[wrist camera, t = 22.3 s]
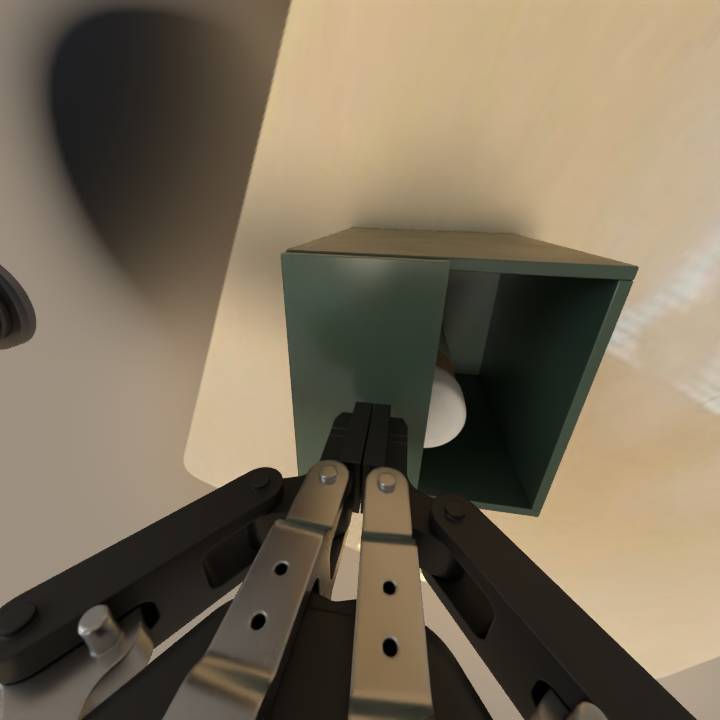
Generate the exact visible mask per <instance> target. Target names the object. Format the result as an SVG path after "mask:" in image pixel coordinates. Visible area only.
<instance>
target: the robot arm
mask: <svg viewBox="0 0 720 720" xmlns="http://www.w3.org/2000/svg"><path fill="white" fill-rule="evenodd" d="M10 327H11V321H10V316H9V313H8V310H7V308H6V305H5V304H4V302H3V300H2V299H1V297H0V340H1V339H3V338H5V337H6V336H7V335H8V334H9V331H10ZM390 415H391V405H387V404H377V403H374V407H373V403H367V402H357V401H356V403H355V406H354V410H353V413H349V412H342V413H341V414H339V415H338V416H337V417H336V418H335V420H334V422H333V425H332V429H331V431H330V433H329V436H328V439H327V442H326V444H325V447H324V450H323V453H322V455H321V458H320V461H319V462H317V463H316V464H314V465H313V466H312V467H311V468H310V469H309V471H308V473H307V474H305V475H302V476H298V477H291V478H282V475H281V473H280V472H279V471H277V470H276V469H273V468H269V467H262V468H257V469H254V470H252V471H250V472H248V473H246V474H244V475H242V476H241V477H239V478H237V479H235V480H233V481H231V482H229V483H228V484H226V485H224V486H222V487H220V488H218V489H217V490H215V491H213V492H211V493H209V494H207V495H205V496H203V497H201V498H200V499H198V500H196V501H194V502H192V503H190V504H188V505H187V506H185V507H183V508H181V509H179V510H177V511H175V512H173V513H172V514H170V515H168V516H166V517H164V518H162V519H160V520H159V521H157V522H155V523H153V524H151V525H149V526H147V527H146V528H144V529H142V530H140V531H138V532H136V533H134V534H133V535H131V536H129V537H127V538H125V539H123V540H121V541H119V542H118V543H116V544H114V545H112V546H110V547H108V548H106V549H105V550H103V551H101V552H99V553H97V554H95V555H93V556H92V557H90V558H88V559H86V560H84V561H82V562H81V563H79V564H77V565H75V566H73V567H71V568H69V569H67V570H65V571H64V572H62V573H60V574H58V575H56V576H55V577H52V578H51V579H49V580H47V581H45V582H43V583H41V584H39V585H38V586H36V587H34V588H32V589H30V590H28V591H26V592H25V593H23V594H21V595H19V596H17V597H16V598H14V599H12V600H11V601H9V602H8V603H6V604H5V605H4V606H2V607H1V608H0V720H493V719H492V717H491V716H490V714H489V712H488V711H487V709H486V707H485V706H484V704H483V702H482V701H481V699H480V697H479V696H478V694H477V693H476V691H475V689H474V688H473V686H472V684H471V683H470V681H469V680H468V678H467V677H466V675H465V673H464V671H463V670H462V668H461V666H460V665H459V663H458V661H457V660H456V658H455V657H454V655H453V654H452V652H451V651H450V650H449V648H448V647H447V646H446V645H445V643H444V642H443V641H442V640H441V639H440V638H439V637H438V636H437V635H436V634H435V633H434V632H433V631H432V630H430V629H429V628H428V627H427V626H425V623H424V613H423V602H422V593H421V581H420V571H419V568H421V570H422V573H423V576H424V577H425V579H426V581H427V582H428V583H429V585H430V586H431V588H432V589H433V590H434V592H435V593H436V595H437V596H438V598H439V599H440V600H441V602H442V603H443V605H444V606H445V607H446V609H447V610H448V612H449V613H450V614H451V616H452V617H453V619H454V620H455V622H456V623H457V624H458V626H459V627H460V629H461V630H462V632H463V633H464V634H465V636H466V637H467V639H468V640H469V641H470V643H471V644H472V646H473V647H474V649H475V650H476V651H477V653H478V654H479V656H480V657H481V659H482V660H483V661H484V663H485V664H486V665H487V667H488V668H489V670H490V671H491V673H492V674H493V676H494V677H495V678H496V680H497V681H498V683H499V684H500V685H501V687H502V688H503V690H504V691H505V693H506V694H507V695H508V697H509V698H510V700H511V701H512V702H513V704H514V705H515V707H516V708H517V710H518V711H519V712H520V714H521V715H522V717H523V718H524V719H525V720H696V718H695V717H693V716H692V715H691V714H690V713H689V712H688V711H687V710H686V709H685V708H684V707H683V706H682V705H681V704H680V703H679V702H678V701H677V700H676V699H675V698H674V697H673V696H672V695H671V694H670V693H668V692H667V691H666V690H665V689H664V688H663V687H662V686H661V685H660V684H659V683H658V682H657V681H656V680H655V679H654V678H653V677H652V676H651V675H650V674H649V673H648V672H647V671H646V670H645V669H644V668H643V667H642V666H641V665H640V664H639V663H638V662H636V661H635V660H634V659H633V658H632V657H631V656H630V655H629V654H628V653H627V652H626V651H625V650H624V649H623V648H622V647H621V646H620V645H619V644H618V643H617V642H616V641H615V640H614V639H613V638H612V637H611V636H610V635H609V634H607V633H606V632H605V631H604V630H603V629H602V628H601V627H600V626H599V625H598V624H597V623H596V622H595V621H594V620H593V619H592V618H591V617H590V616H589V615H588V614H587V613H586V612H585V611H584V610H583V609H582V608H581V607H580V606H578V605H577V604H576V603H575V602H574V601H573V600H572V599H571V598H570V597H569V596H568V595H567V594H566V593H565V592H564V591H563V590H562V589H561V588H560V587H559V586H558V585H557V584H556V583H555V582H554V581H553V580H552V579H550V578H549V577H548V576H547V575H546V574H545V573H544V572H543V571H542V570H541V569H540V568H539V567H538V566H537V565H536V564H535V563H534V562H533V561H532V560H531V559H530V558H529V557H528V556H527V555H526V554H525V553H524V552H523V551H521V550H520V549H519V548H518V547H517V546H516V545H515V544H514V543H513V542H512V541H511V540H510V539H509V538H508V537H507V536H506V535H505V534H504V533H503V532H502V531H501V530H500V529H499V528H498V527H497V526H496V525H495V524H494V523H492V522H491V521H490V520H489V519H488V518H487V517H486V516H485V515H484V514H483V513H482V512H481V511H480V510H479V509H478V508H477V507H476V506H475V505H474V504H473V503H472V502H471V501H469V500H468V499H467V498H465V497H463V496H461V495H459V494H455V493H442V494H439V495H438V496H436V497H435V498H433V497H430V496H428V495H426V494H424V493H422V492H420V491H418V490H417V489H416V488H415V487H414V486H413V485H412V484H411V483H410V481H409V479H408V476H407V452H408V426H407V424H406V423H405V421H404V419H403V418H395V417H390ZM360 503H361V513H362V514H363V524H362V535H361V547H360V562H359V575H358V589H357V599H355V600H346V601H338V602H335V601H331V595H332V590H333V585H334V581H335V578H336V574H337V571H338V567H339V564H340V560H341V557H342V553H343V549H344V546H345V542H346V539H347V535H348V527H349V525H350V521H351V515H352V512H355V513H359V509H360ZM241 582H242V584H241V586H240V588H239V590H238V592H237V594H236V596H235V598H234V599H232V600H230V601H229V602H226V603H225V604H223V605H222V606H220V607H219V608H218V609H216V610H215V611H214V612H212V613H211V614H210V615H209V616H207V617H206V618H205V619H204V620H202V621H201V622H200V623H199V624H198V625H196V626H195V627H194V628H193V629H191V630H190V631H189V632H188V633H186V634H185V635H184V636H183V637H182V638H180V639H179V640H178V641H177V642H175V643H174V644H173V645H172V646H171V647H169V648H168V649H167V650H166V651H164V652H163V653H162V654H161V655H160V656H158V657H157V658H156V659H155V660H153V661H152V662H151V663H150V664H148V662H149V660H150V658H151V655H152V652H153V649H154V648H156V647H157V646H158V645H160V644H161V643H162V642H164V641H165V640H166V639H168V638H169V637H170V636H171V635H173V634H174V633H175V632H177V631H178V630H179V629H181V628H182V627H183V626H185V625H186V624H187V623H189V622H190V621H191V620H192V619H194V618H195V617H196V616H198V615H199V614H201V613H202V612H203V611H204V610H206V609H207V608H208V607H210V606H211V605H212V604H214V603H215V602H216V601H218V600H219V599H220V598H222V597H223V596H224V595H226V594H227V593H228V592H230V591H231V590H232V589H234V588H235V587H236V586H237V585H239V584H240V583H241ZM147 664H148V665H147Z"/></svg>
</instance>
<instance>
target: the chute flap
mask: <svg viewBox="0 0 720 720" xmlns="http://www.w3.org/2000/svg"><path fill="white" fill-rule="evenodd" d="M281 264H282V277H283V289H284V302H285V314H286V327H287V339H288V352H289V365H290V377H291V390H292V402H293V415H294V428H295V440H296V453H297V465H298V476H302V475H305V474H307V473H308V471H309V469H310V468H311V467H312V466H313V465H314V464H316V463H317V462H319V461H320V458H321V455H322V453H323V450H324V447H325V444H326V442H327V439H328V436H329V433H330V431H331V429H332V425H333V422H334V420H335V418H336V417H337V416H338V415H339V414H341V413H342V412H349V413H353V410H354V406H355V403H356V401H357V402H367V403H373V407H374V403H377V404H387V405H391V415H390V417H395V418H403V419H404V421H405V423H406V424H407V426H408V452H407V476H408V479H409V481H410V483H411V484H412V485H413V486H414V487H415V488H416V489H418V482H419V475H420V468H421V461H422V455H423V448H424V441H425V434H426V428H427V421H428V414H429V407H430V401H431V394H432V387H433V380H434V374H435V367H436V360H437V353H438V347H439V340H440V333H441V326H442V320H443V313H444V306H445V299H446V293H447V286H448V279H449V272H450V266H451V262H450V261H449V260H431V259H411V258H390V257H370V256H350V255H329V254H309V253H289V252H284V253H281Z"/></svg>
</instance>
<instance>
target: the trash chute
mask: <svg viewBox="0 0 720 720" xmlns="http://www.w3.org/2000/svg"><path fill="white" fill-rule="evenodd" d="M286 252H289V253H309V254H329V255H350V256H370V257H390V258H411V259H431V260H449V261H450V262H451V266H450V272H449V279H448V286H447V293H446V299H445V306H444V313H443V320H442V323H443V326H444V334H445V337H446V340H447V344H448V347H449V351H450V355H451V359H452V362H453V366H454V374H455V379H456V381H457V382H458V384H459V385H460V387H461V390H462V393H463V397H464V401H465V406H466V420H465V424H464V426H463V428H462V430H461V431H460V433H459V434H458V435H457V436H456V437H455V438H454V439H452V440H451V441H449V442H447V443H445V444H443V445H440V446H437V447H432V448H423V455H422V461H421V468H420V475H419V482H418V489H417V490H418V491H420V492H422V493H424V494H426V495H428V496H430V497H433V498H435V497H436V496H438V495H439V494H442V493H455V494H459V495H461V496H463V497H465V498H467V499H468V500H469V501H471V502H472V503H473V504H474V505H475V506H476V507H477V508H478V509H485V510H492V511H499V512H506V513H514V514H521V515H528V516H535V517H539V514H540V512H541V509H542V507H543V504H544V502H545V499H546V497H547V494H548V492H549V489H550V487H551V484H552V482H553V479H554V477H555V475H556V472H557V470H558V467H559V465H560V462H561V460H562V457H563V455H564V452H565V450H566V447H567V445H568V442H569V440H570V437H571V435H572V432H573V430H574V427H575V425H576V422H577V420H578V417H579V415H580V412H581V410H582V407H583V405H584V403H585V400H586V398H587V395H588V393H589V390H590V388H591V385H592V383H593V380H594V378H595V375H596V373H597V370H598V368H599V365H600V363H601V360H602V358H603V355H604V353H605V350H606V348H607V345H608V343H609V340H610V338H611V336H612V333H613V331H614V328H615V326H616V323H617V321H618V318H619V316H620V313H621V311H622V308H623V306H624V303H625V301H626V298H627V296H628V293H629V291H630V288H631V286H632V283H633V281H632V280H634V278H635V276H636V273H637V271H638V268H639V267H638V266H635V265H631V264H627V263H623V262H619V261H615V260H612V259H608V258H604V257H600V256H596V255H593V254H589V253H585V252H581V251H577V250H574V249H570V248H566V247H562V246H558V245H555V244H551V243H547V242H543V241H539V240H536V239H532V238H528V237H524V236H520V235H517V234H508V233H482V232H456V231H430V230H404V229H378V228H349V229H346V230H344V231H341V232H338V233H335V234H332V235H329V236H326V237H323V238H320V239H317V240H314V241H311V242H308V243H305V244H302V245H299V246H296V247H293V248H290V249H287V250H286Z"/></svg>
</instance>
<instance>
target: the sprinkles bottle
mask: <svg viewBox="0 0 720 720" xmlns="http://www.w3.org/2000/svg"><path fill="white" fill-rule="evenodd" d="M465 420H466V406H465V401H464V397H463V393H462V390H461V387H460V385H459V384H458V382H457V381H456V379H455V374H454V366H453V362H452V359H451V355H450V351H449V347H448V344H447V340H446V337H445V334H444V326H443V323H442V326H441V333H440V340H439V347H438V353H437V360H436V367H435V374H434V380H433V387H432V394H431V401H430V407H429V414H428V421H427V428H426V434H425V441H424V448H432V447H437V446H440V445H443V444H445V443H447V442H449V441H451V440H452V439H454V438H455V437H456V436H457V435H458V434H459V433H460V431H461V430H462V428H463V426H464V424H465Z"/></svg>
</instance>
